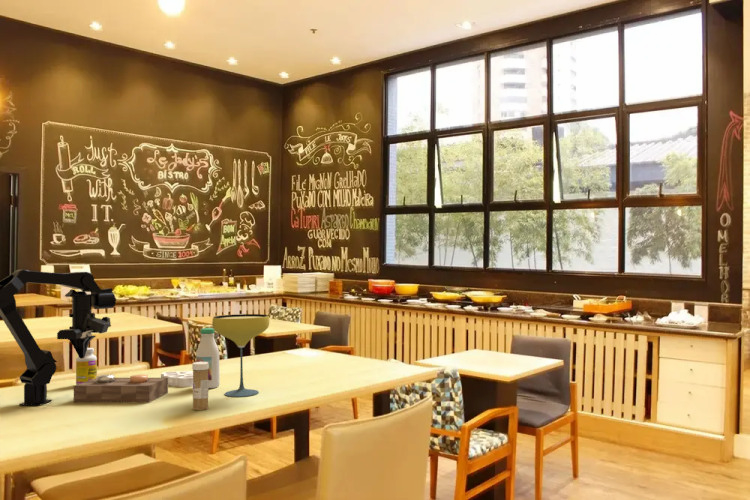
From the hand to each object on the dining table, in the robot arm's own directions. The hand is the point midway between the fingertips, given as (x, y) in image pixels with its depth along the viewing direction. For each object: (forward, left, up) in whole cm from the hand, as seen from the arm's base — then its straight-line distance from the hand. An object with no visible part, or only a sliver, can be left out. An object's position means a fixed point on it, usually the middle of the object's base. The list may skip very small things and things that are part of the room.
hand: (82, 358), depth 200 cm
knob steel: (-3, -9, -11) cm, 15 cm away
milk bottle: (+14, -37, -12) cm, 41 cm away
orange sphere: (-3, -20, -11) cm, 23 cm away
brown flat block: (-3, -15, -12) cm, 19 cm away
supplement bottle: (+17, +8, -12) cm, 22 cm away
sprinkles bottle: (-18, -46, -12) cm, 51 cm away
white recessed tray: (+22, -25, -13) cm, 35 cm away
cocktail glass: (+3, -52, -12) cm, 53 cm away
